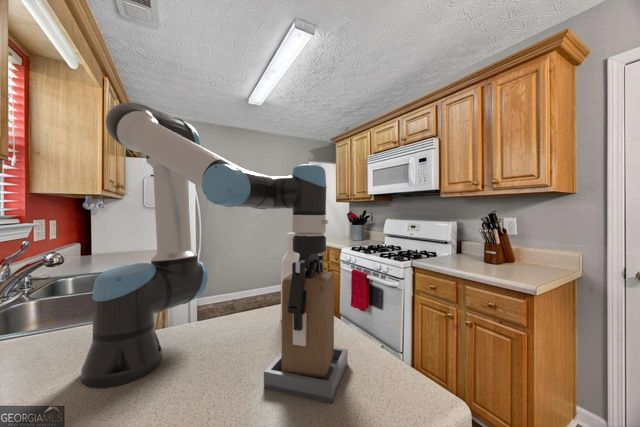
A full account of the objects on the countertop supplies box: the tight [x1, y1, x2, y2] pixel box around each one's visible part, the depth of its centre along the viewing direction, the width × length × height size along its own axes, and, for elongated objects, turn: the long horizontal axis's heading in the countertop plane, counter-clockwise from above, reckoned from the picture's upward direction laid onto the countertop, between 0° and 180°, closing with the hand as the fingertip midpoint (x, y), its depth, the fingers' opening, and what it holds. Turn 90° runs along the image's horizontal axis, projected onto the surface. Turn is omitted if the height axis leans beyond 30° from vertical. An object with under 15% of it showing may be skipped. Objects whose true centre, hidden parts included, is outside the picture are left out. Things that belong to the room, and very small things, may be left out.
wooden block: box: [281, 271, 335, 378], centre depth 60 cm, size 10×10×20 cm
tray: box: [263, 346, 349, 404], centre depth 59 cm, size 14×14×4 cm
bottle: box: [280, 232, 300, 321], centre depth 93 cm, size 8×8×30 cm
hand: (308, 333), depth 60 cm, fingers open, 10 cm apart
